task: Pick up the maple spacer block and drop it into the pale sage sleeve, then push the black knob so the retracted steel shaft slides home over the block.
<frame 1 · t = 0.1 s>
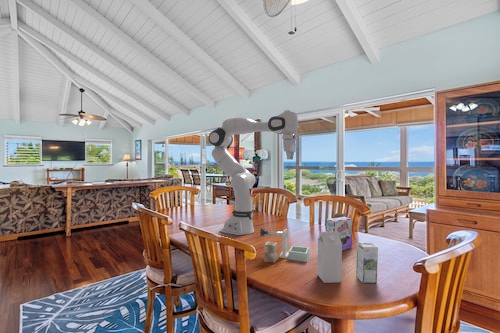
hand: (290, 159, 157), 48 cm above the table, fingers open, 8 cm apart
milk carton: (329, 279, 102), on the table
candy box: (338, 249, 137), on the table
syrup box: (366, 280, 101), on the table
shaft: (274, 233, 128), point 10 cm above the table, slide at 10.0 cm
spacer block: (270, 260, 121), on the table
fruit: (339, 237, 158), on the table
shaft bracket: (299, 257, 124), on the table
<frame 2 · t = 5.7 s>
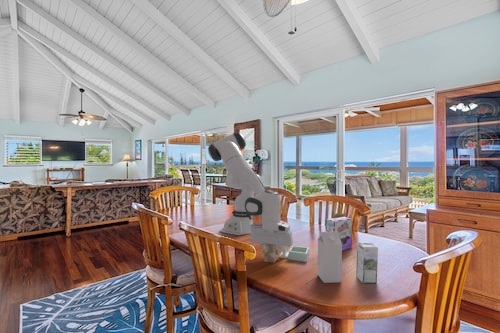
hand: (270, 253, 121), 3 cm above the table, fingers closed on spacer block, 5 cm apart
spacer block: (270, 260, 121), on the table, touching gripper
everything else where it was.
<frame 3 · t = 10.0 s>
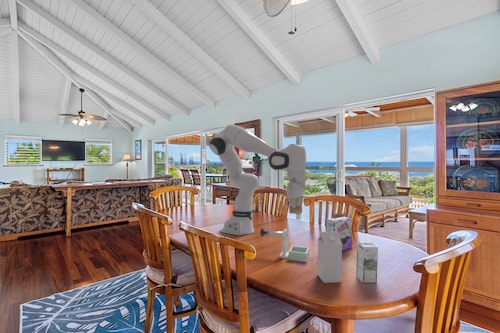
hand: (295, 206, 123), 25 cm above the table, fingers closed on spacer block, 5 cm apart
spacer block: (295, 212, 123), point 22 cm above the table, touching gripper
everything else where it was.
when the fingers open (6 cm above the table, at t = 14.4 s): spacer block drops 3 cm, resting in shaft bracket.
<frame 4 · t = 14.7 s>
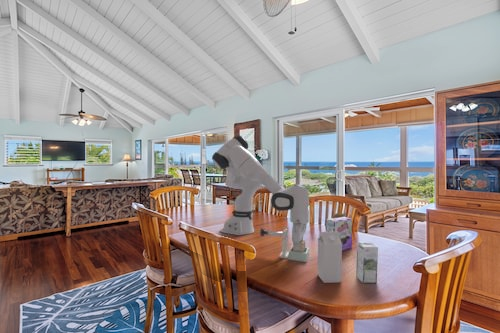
hand: (299, 246, 124), 6 cm above the table, fingers open, 8 cm apart
spacer block: (299, 257, 124), resting in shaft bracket
everything else where it was.
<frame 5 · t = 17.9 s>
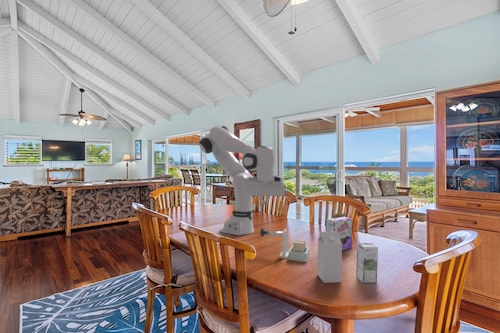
hand: (264, 204, 131), 25 cm above the table, fingers closed
nothing on the table moved.
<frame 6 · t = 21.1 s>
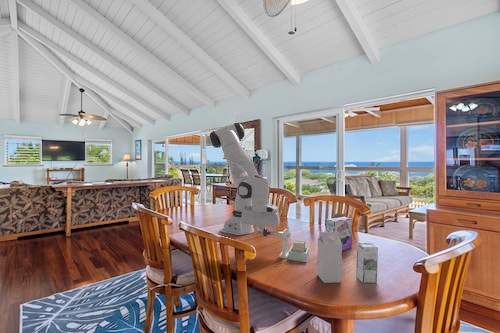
hand: (260, 233, 131), 10 cm above the table, fingers closed
shaft: (277, 233, 128), point 10 cm above the table, slide at 8.5 cm, touching gripper
everything else where it was.
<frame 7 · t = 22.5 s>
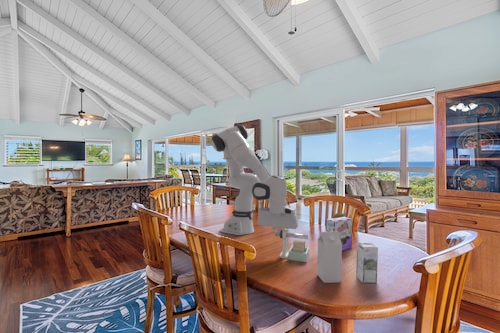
hand: (277, 235, 127), 10 cm above the table, fingers closed
shaft: (294, 235, 125), point 10 cm above the table, slide at -0.1 cm, touching gripper
everything else where it was.
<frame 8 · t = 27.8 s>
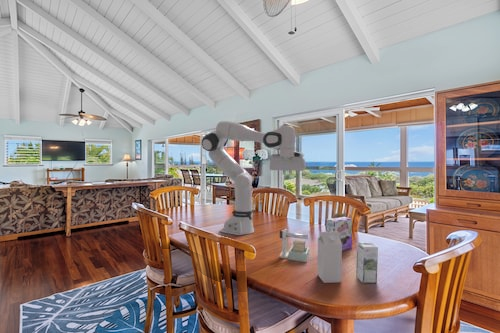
hand: (287, 178, 144), 37 cm above the table, fingers closed
shaft: (293, 235, 125), point 10 cm above the table, slide at 0.0 cm
everything else where it was.
at the end: spacer block 0.0 cm from the target spot, resting in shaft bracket; spacer block tilted 0°; shaft slide at 0.0 cm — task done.
